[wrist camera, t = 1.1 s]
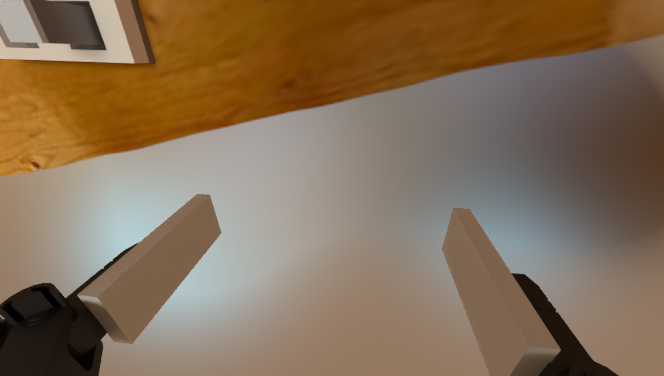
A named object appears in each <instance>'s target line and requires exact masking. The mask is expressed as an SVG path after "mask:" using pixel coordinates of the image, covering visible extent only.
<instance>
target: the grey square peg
mask: <svg viewBox="0 0 664 376" xmlns="http://www.w3.org/2000/svg"><path fill="white" fill-rule="evenodd" d="M0 23H1V25H2V27H3V29H4V31H5V33H6V35H7V37H8V39H9V40H10V42H24V43H52V44H80V45H105V44H104V41H103V38H102V36H101V33H100V30H99V27H98V25H97V22H96V19H95V16H94V14H93V11H92V8H90V7H84V6H78V5H72V4H66V3H61V2H55V1H49V0H0Z"/></svg>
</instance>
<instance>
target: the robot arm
mask: <svg viewBox="0 0 664 376" xmlns="http://www.w3.org/2000/svg"><path fill="white" fill-rule="evenodd" d="M220 234H221V231H220V227H219V224H218V221H217V217H216V214H215V211H214V207H213V204H212V201H211V198H210V195H204V194H197V195H196V196H194V197H193V198H192V199H191V200H190V201H188V202H187V203H186V204H185V205H184V206H182V207H181V208H180V209H179V210H178V211H177V212H175V213H174V214H173V215H172V216H171V217H169V218H168V219H167V220H166V221H165V222H163V224H161V225H160V226H159V227H158V228H156V229H155V230H154V231H153V232H151V233H150V234H149V235H148V236H147V237H145V238H144V239H143V240H142V241H141V242H140V243H137V244H135V245H133V246H132V247H130V248H128V249H126V250H124V251H123V252H122V253H120V254H119V255H118V256H117V257H115V258H114V259H113V261H112V262H109V263H108V264H107V265H106V266H104V269H101V270H100V271H98V272H97V273H96V274H95V275H93V276H92V277H91V278H90V279H89V280H87V281H86V282H85V283H84V284H83V285H81V286H80V287H79V288H78V289H76V290H75V291H74V292H73V293H72V294H70V295H69V296H68V297H67V298H65V297H64V296H63V295H62V294H61V293H60V292H59V290H58V289H57V288H56V287H55V286H54V285H53V284H51V283H41V284H37V285H33V286H31V287H28V288H26V289H23V290H21V291H20V292H18V293H16V294H14V295H13V296H11V297H10V298H8V299H7V300H5V301H4V302H3V303H2V304H1V305H0V314H1V315H2V316H3V317H4V318H5V319H4V320H3V319H2V318H0V376H98V375H99V369H100V363H101V356H102V350H103V343H102V341H101V339H102V338H103V337H104V336H105V334H106V333H108V334H109V336H110V337H111V338H112V340H113V341H114V342H121V343H127V344H132V343H133V342H134V341H135V339H136V338H137V337H138V336H139V335H140V333H141V332H142V331H143V330H144V328H145V327H146V326H147V325H148V323H149V322H150V321H151V320H152V319H153V317H154V316H155V314H157V312H158V311H159V310H160V309H161V307H162V306H163V305H164V304H165V302H166V301H167V300H168V299H169V297H170V296H171V295H172V294H173V292H174V291H175V290H176V289H177V287H178V286H179V285H180V283H181V282H182V281H183V280H184V279H185V277H186V276H187V275H188V274H189V272H190V271H191V270H192V269H193V268H194V266H195V265H196V264H197V262H198V261H199V260H200V259H201V258H202V256H203V255H204V254H205V253H206V251H207V250H208V249H209V248H210V246H211V245H212V244H213V242H214V241H215V240H216V239H217V238H218V236H219V235H220ZM442 250H443V253H444V255H445V258H446V261H447V263H448V266H449V269H450V271H451V274H452V277H453V279H454V282H455V285H456V287H457V290H458V292H459V295H460V298H461V300H462V303H463V306H464V308H465V311H466V314H467V316H468V319H469V321H470V324H471V327H472V329H473V332H474V335H475V337H476V340H477V342H478V345H479V348H480V350H481V353H482V356H483V358H484V361H485V364H486V366H487V369H488V371H489V374H490V376H618V375H617V374H615V373H614V372H612V371H611V370H610V369H608V368H607V367H605V366H603V365H601V364H598V363H596V362H594V361H593V360H592V358H591V357H590V356H589V355H588V353H587V352H586V350H585V349H584V348H583V346H582V345H581V344H580V342H579V341H578V340H577V338H576V337H575V335H574V334H573V333H572V331H571V330H570V329H569V327H568V326H567V324H566V323H565V322H564V320H563V319H562V318H561V316H560V315H559V313H556V309H555V308H554V307H553V305H552V304H551V303H550V302H549V301H548V298H547V297H546V296H545V294H544V293H543V292H542V290H541V289H540V287H539V286H538V285H537V284H535V283H534V282H533V281H532V280H531V279H529V278H528V277H527V276H526V275H524V274H513V273H511V272H510V271H509V269H508V267H507V266H506V265H505V263H504V261H503V260H502V258H501V257H500V255H499V254H498V252H497V251H496V249H495V247H494V246H493V245H492V243H491V241H490V240H489V238H488V237H487V235H486V234H485V232H484V231H483V229H482V228H481V226H480V224H479V223H478V221H477V220H476V218H475V217H474V215H473V214H472V212H471V211H470V209H462V208H453V211H452V215H451V218H450V222H449V226H448V230H447V233H446V237H445V240H444V244H443V248H442Z"/></svg>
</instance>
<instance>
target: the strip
mask: <svg viewBox="0 0 664 376" xmlns="http://www.w3.org/2000/svg"><path fill="white" fill-rule="evenodd" d="M49 1H55V2H61V3H66V4H72V5H78V6H84V7H90V8H92V11H93V14H94V16H95V19H96V22H97V25H98V27H99V30H100V33H101V36H102V38H103V41H104V44H105V45H80V44H52V43H24V42H10V40H9V39H8V37H7V35H6V33H5V31H4V29H3V27H2V25H1V23H0V59H26V60H54V61H82V62H111V63H155V62H154V58H153V55H152V51H151V48H150V44H149V41H148V38H147V34H146V31H145V27H144V24H143V20H142V17H141V13H140V10H139V7H138V3H137V0H49Z"/></svg>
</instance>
